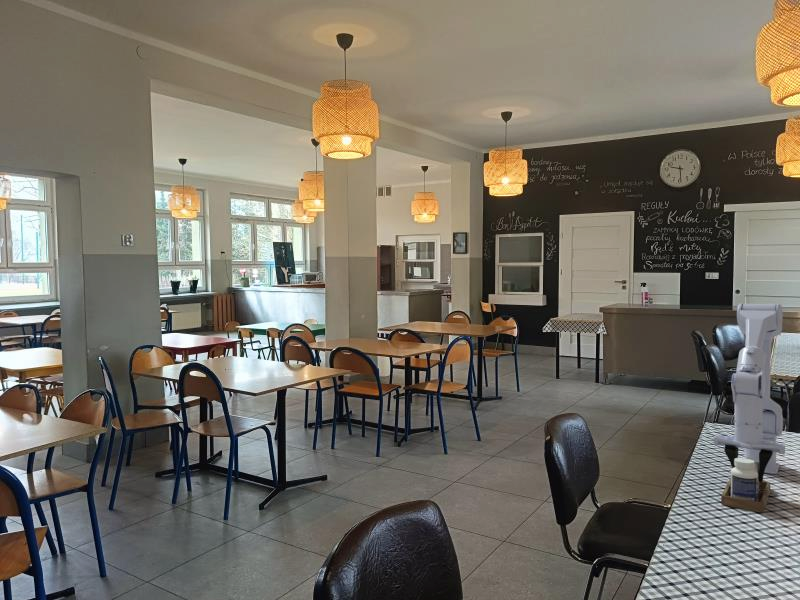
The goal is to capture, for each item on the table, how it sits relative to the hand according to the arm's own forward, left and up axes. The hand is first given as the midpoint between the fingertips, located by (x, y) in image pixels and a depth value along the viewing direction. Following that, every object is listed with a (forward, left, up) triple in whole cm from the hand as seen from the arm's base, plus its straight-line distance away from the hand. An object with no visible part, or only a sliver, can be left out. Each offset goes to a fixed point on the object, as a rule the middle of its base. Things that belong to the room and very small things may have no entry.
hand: (748, 478), depth 139 cm
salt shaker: (0, 0, -2) cm, 2 cm away
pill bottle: (+8, 0, -3) cm, 8 cm away
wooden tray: (+4, 0, -3) cm, 5 cm away
